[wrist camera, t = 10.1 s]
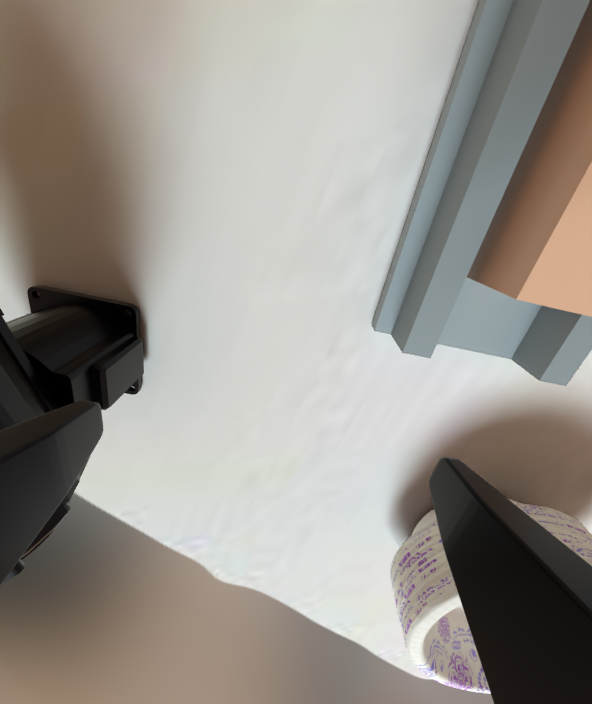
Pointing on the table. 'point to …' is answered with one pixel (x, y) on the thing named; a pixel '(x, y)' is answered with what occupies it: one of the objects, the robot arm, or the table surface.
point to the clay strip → (549, 198)
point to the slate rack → (483, 199)
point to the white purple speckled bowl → (454, 598)
